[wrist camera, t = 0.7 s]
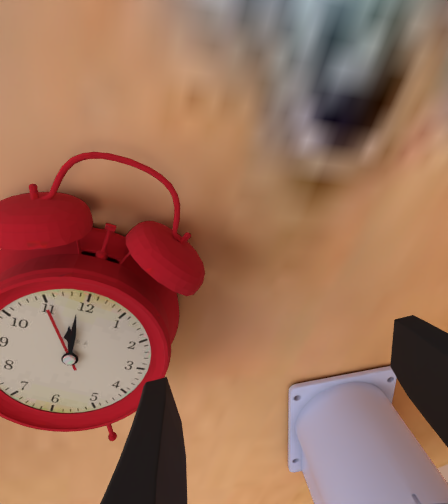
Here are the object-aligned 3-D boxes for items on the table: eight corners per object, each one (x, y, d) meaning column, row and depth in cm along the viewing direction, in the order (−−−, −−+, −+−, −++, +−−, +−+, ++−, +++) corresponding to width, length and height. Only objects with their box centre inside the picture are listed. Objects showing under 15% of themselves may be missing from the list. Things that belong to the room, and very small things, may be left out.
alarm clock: (-74, 435, 18) (-92, 169, 9) (-17, 332, 23) (3, 98, 14) (138, 457, 21) (261, 274, 13) (148, 363, 26) (241, 186, 18)
